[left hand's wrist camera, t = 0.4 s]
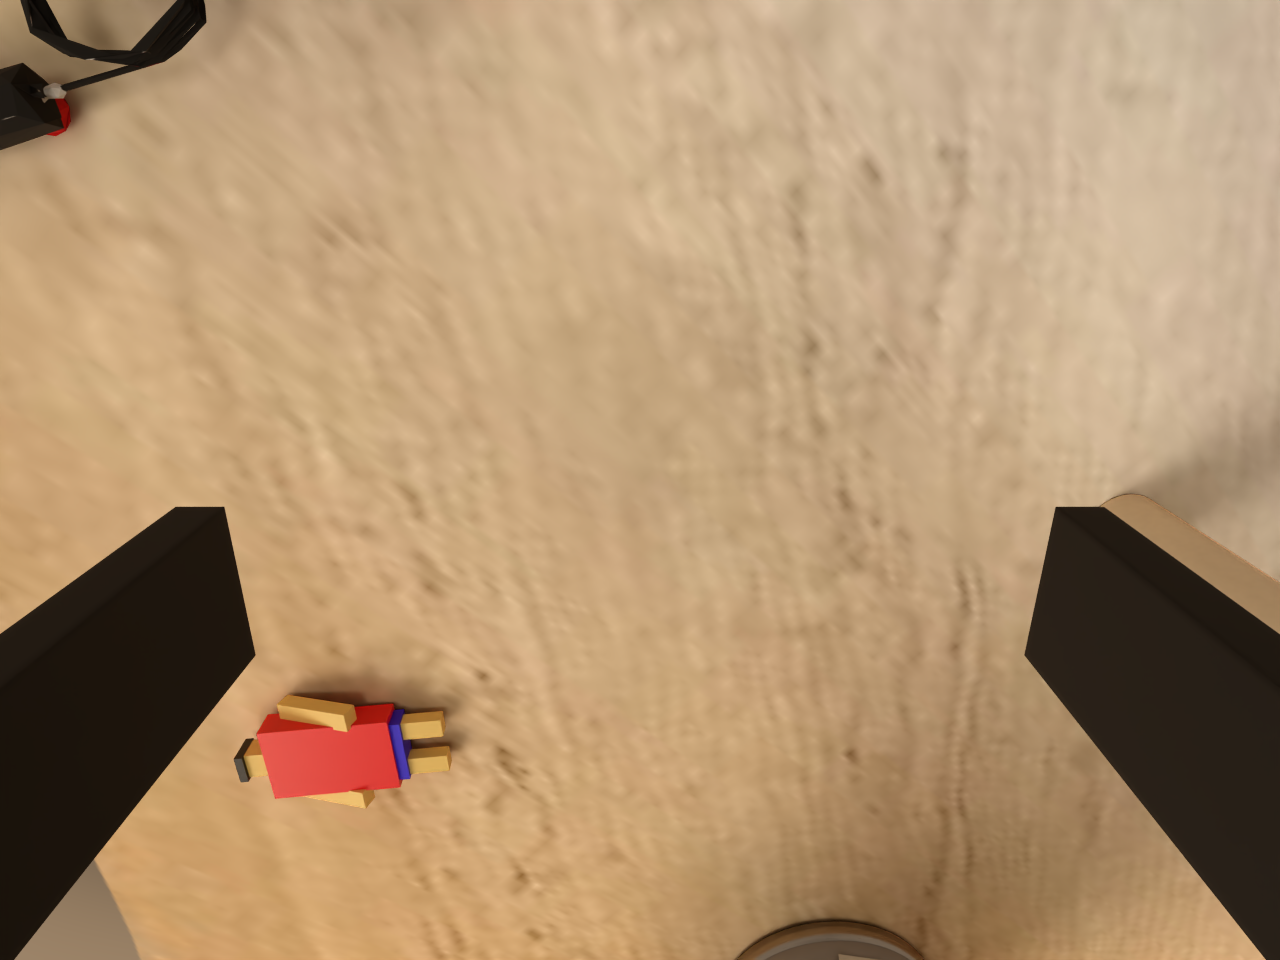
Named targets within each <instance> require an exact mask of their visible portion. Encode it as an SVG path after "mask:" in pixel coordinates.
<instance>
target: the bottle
mask: <svg viewBox="0 0 1280 960" xmlns="http://www.w3.org/2000/svg"><path fill="white" fill-rule="evenodd" d="M1100 507H1105V508H1106V509H1108V510H1109V511H1111V512H1112V513H1113V514H1115V515H1116V516H1118V517H1119V518H1120V519H1122V520H1123V521H1124V522H1126V523H1127V524H1129V525H1130V526H1131V527H1133V528H1134V529H1135V530H1137V531H1138V532H1140V533H1141V534H1142V535H1144V536H1145V537H1146V538H1148V539H1149V540H1151V541H1152V542H1153V543H1155V544H1156V545H1158V546H1159V547H1160V548H1162V549H1163V550H1164V551H1166V552H1167V553H1169V554H1170V555H1171V556H1173V557H1174V558H1175V559H1177V560H1178V561H1180V562H1181V563H1182V564H1184V565H1185V566H1186V567H1188V568H1189V569H1191V570H1192V571H1193V572H1195V573H1196V574H1198V575H1199V576H1200V577H1202V578H1203V579H1204V580H1206V581H1207V582H1209V583H1210V584H1211V585H1213V586H1214V587H1215V588H1217V589H1218V590H1220V591H1221V592H1222V593H1224V594H1225V595H1227V596H1228V597H1229V598H1231V599H1232V600H1233V601H1235V602H1236V603H1238V604H1239V605H1240V606H1242V607H1243V608H1244V609H1246V610H1247V611H1249V612H1250V613H1251V614H1253V615H1254V616H1255V617H1257V618H1258V619H1260V620H1261V621H1262V622H1264V623H1265V624H1267V625H1268V626H1269V627H1271V628H1272V629H1273V630H1275V631H1276V632H1278V633H1279V634H1280V582H1278V581H1277V580H1275V579H1274V578H1272V577H1270V576H1269V575H1267V574H1266V573H1264V572H1263V571H1261V570H1260V569H1258V568H1256V567H1255V566H1253V565H1252V564H1250V563H1249V562H1247V561H1246V560H1244V559H1242V558H1241V557H1239V556H1238V555H1236V554H1235V553H1233V552H1232V551H1230V550H1229V549H1227V548H1225V547H1224V546H1222V545H1221V544H1219V543H1218V542H1216V541H1215V540H1213V539H1211V538H1210V537H1208V536H1207V535H1205V534H1204V533H1202V532H1201V531H1199V530H1197V529H1196V528H1194V527H1193V526H1191V525H1190V524H1188V523H1187V522H1185V521H1183V520H1182V519H1180V518H1179V517H1177V516H1176V515H1174V514H1173V513H1171V512H1170V511H1168V510H1166V509H1165V508H1163V507H1162V506H1160V505H1159V504H1157V503H1156V502H1154V501H1152V500H1151V499H1149V498H1147V497H1145V496H1142V495H1135V494H1128V495H1122V496H1118V497H1115V498H1113V499H1111V500H1109V501H1107V502H1106V503H1104V504H1103V505H1102V506H1100Z"/></svg>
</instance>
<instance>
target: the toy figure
mask: <svg viewBox="0 0 1280 960" xmlns="http://www.w3.org/2000/svg"><path fill="white" fill-rule="evenodd" d="M277 708H278V712H279V714H268V715H267V717H266V719H265V720H264V722H263V724H262V725H261V727H260V729H259V730H258V732H257V738H258V740H254V738H251V739H246V740H245V741H244V743H243V745H242V746H241V748H240V750H239V751H238V753H237V755H236V756H235V758H234V762H235V765H236V768H237V772H238V775H239V778H240V781H241V782H249V780H250V778H251V777H258V776H269V779H270V783H271V786H272V789H273V793H274V796H275V799H277V798H288V797H299V796H304V797H309V798H314V799H319V800H325V801H330V802H335V803H340V804H345V805H350V806H355V807H360V808H365V809H366V808H367V806H368V805H369V804H370V803H371V801H372V800H373V799H374V798H375V795H374V791H373V790H376V789H387V788H398V787H401V784H402V780H403V779H410V777H411V774H417V773H428V772H439V771H449V770H450V766H451V761H452V759H451V754H450V748H449V746H443V747H432V748H421V749H412V746H411V741H410V739H420V738H431V737H442V736H443V735H444V731H445V727H446V726H445V721H444V715H443V711H437V712H425V713H414V714H405V711H404V709H400V710H395V709H394V704H383V705H372V706H360V707H354V705H350V704H344V703H338V702H331V701H325V700H318V699H312V698H305V697H299V696H292V695H287V696H286V697H285V698H284V699H282V700H281V701H280V702H279V703H278V704H277Z"/></svg>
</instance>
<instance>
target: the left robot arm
mask: <svg viewBox="0 0 1280 960" xmlns="http://www.w3.org/2000/svg"><path fill="white" fill-rule="evenodd" d="M254 656H255V650H254V646H253V641H252V636H251V631H250V627H249V622H248V617H247V612H246V608H245V603H244V598H243V593H242V589H241V584H240V579H239V574H238V570H237V565H236V560H235V556H234V551H233V546H232V541H231V537H230V532H229V527H228V522H227V518H226V513H225V508H224V507H175V508H174V509H172V510H171V511H169V512H168V513H167V514H165V515H164V516H162V517H161V518H160V519H158V520H157V521H156V522H154V523H153V524H151V525H150V526H149V527H147V528H146V529H145V530H143V531H142V532H140V533H139V534H138V535H136V536H135V537H134V538H132V539H131V540H129V541H128V542H127V543H125V544H124V545H122V546H121V547H120V548H118V549H117V550H116V551H114V552H113V553H111V554H110V555H109V556H107V557H106V558H105V559H103V560H102V561H100V562H99V563H98V564H96V565H95V566H94V567H92V568H91V569H89V570H88V571H87V572H85V573H84V574H82V575H81V576H80V577H78V578H77V579H76V580H74V581H73V582H71V583H70V584H69V585H67V586H66V587H65V588H63V589H62V590H60V591H59V592H58V593H56V594H55V595H53V596H52V597H51V598H49V599H48V600H47V601H45V602H44V603H42V604H41V605H40V606H38V607H37V608H36V609H34V610H33V611H31V612H30V613H29V614H27V615H26V616H25V617H23V618H22V619H20V620H19V621H18V622H16V623H15V624H13V625H12V626H11V627H9V628H8V629H7V630H5V631H4V632H2V633H1V634H0V960H14V959H15V958H16V957H17V955H18V954H19V953H20V951H21V950H22V949H23V948H24V946H25V945H26V944H27V943H28V941H29V940H30V939H31V938H32V936H33V935H34V934H35V933H36V931H37V930H38V929H39V928H40V926H41V925H42V924H43V923H44V921H45V920H46V919H47V917H48V916H49V915H50V914H51V912H52V911H53V910H54V909H55V907H56V906H57V905H58V904H59V902H60V901H61V900H62V899H63V897H64V896H65V895H66V893H67V892H68V891H69V890H70V888H71V887H72V886H73V885H74V883H75V882H76V881H77V880H78V878H79V877H80V876H81V875H82V873H83V872H84V871H85V869H86V868H87V867H88V866H89V864H90V863H91V862H92V861H93V859H94V858H95V857H96V856H97V854H98V853H99V852H100V851H101V849H102V848H103V847H104V846H105V844H106V843H107V842H108V841H109V839H110V838H111V837H112V836H113V834H114V833H115V832H116V830H117V829H118V828H119V827H120V825H121V824H122V823H123V822H124V820H125V819H126V818H127V817H128V815H129V814H130V813H131V812H132V810H133V809H134V808H135V807H136V805H137V804H138V803H139V801H140V800H141V799H142V798H143V796H144V795H145V794H146V793H147V791H148V790H149V789H150V788H151V786H152V785H153V784H154V783H155V781H156V780H157V779H158V778H159V776H160V775H161V774H162V772H163V771H164V770H165V769H166V767H167V766H168V765H169V764H170V762H171V761H172V760H173V759H174V757H175V756H176V755H177V754H178V752H179V751H180V750H181V749H182V747H183V746H184V745H185V743H186V742H187V741H188V740H189V738H190V737H191V736H192V735H193V733H194V732H195V731H196V730H197V728H198V727H199V726H200V725H201V723H202V722H203V721H204V720H205V718H206V717H207V716H208V714H209V713H210V712H211V711H212V709H213V708H214V707H215V706H216V704H217V703H218V702H219V701H220V699H221V698H222V697H223V696H224V694H225V693H226V692H227V691H228V689H229V688H230V687H231V685H232V684H233V683H234V682H235V680H236V679H237V678H238V677H239V675H240V674H241V673H242V672H243V670H244V669H245V668H246V667H247V665H248V664H249V663H250V662H251V660H252V659H253V658H254ZM1025 656H1026V658H1027V659H1028V660H1029V662H1030V663H1031V664H1032V665H1033V667H1034V668H1035V669H1036V670H1037V672H1038V673H1039V674H1040V675H1041V677H1042V678H1043V679H1044V680H1045V682H1046V683H1047V684H1048V685H1049V687H1050V688H1051V689H1052V691H1053V692H1054V693H1055V694H1056V696H1057V697H1058V698H1059V699H1060V701H1061V702H1062V703H1063V704H1064V706H1065V707H1066V708H1067V709H1068V711H1069V712H1070V713H1071V714H1072V716H1073V717H1074V718H1075V720H1076V721H1077V722H1078V723H1079V725H1080V726H1081V727H1082V728H1083V730H1084V731H1085V732H1086V733H1087V735H1088V736H1089V737H1090V738H1091V740H1092V741H1093V742H1094V743H1095V745H1096V746H1097V747H1098V749H1099V750H1100V751H1101V752H1102V754H1103V755H1104V756H1105V757H1106V759H1107V760H1108V761H1109V762H1110V764H1111V765H1112V766H1113V767H1114V769H1115V770H1116V771H1117V772H1118V774H1119V775H1120V776H1121V778H1122V779H1123V780H1124V781H1125V783H1126V784H1127V785H1128V786H1129V788H1130V789H1131V790H1132V791H1133V793H1134V794H1135V795H1136V796H1137V798H1138V799H1139V800H1140V801H1141V803H1142V804H1143V805H1144V807H1145V808H1146V809H1147V810H1148V812H1149V813H1150V814H1151V815H1152V817H1153V818H1154V819H1155V820H1156V822H1157V823H1158V824H1159V825H1160V827H1161V828H1162V829H1163V830H1164V832H1165V833H1166V834H1167V836H1168V837H1169V838H1170V839H1171V841H1172V842H1173V843H1174V844H1175V846H1176V847H1177V848H1178V849H1179V851H1180V852H1181V853H1182V854H1183V856H1184V857H1185V858H1186V859H1187V861H1188V862H1189V863H1190V865H1191V866H1192V867H1193V868H1194V870H1195V871H1196V872H1197V873H1198V875H1199V876H1200V877H1201V878H1202V880H1203V881H1204V882H1205V883H1206V885H1207V886H1208V887H1209V888H1210V890H1211V891H1212V892H1213V894H1214V895H1215V896H1216V897H1217V899H1218V900H1219V901H1220V902H1221V904H1222V905H1223V906H1224V907H1225V909H1226V910H1227V911H1228V912H1229V914H1230V915H1231V916H1232V917H1233V919H1234V920H1235V921H1236V923H1237V924H1238V925H1239V926H1240V928H1241V929H1242V930H1243V931H1244V933H1245V934H1246V935H1247V936H1248V938H1249V939H1250V940H1251V941H1252V943H1253V944H1254V945H1255V946H1256V948H1257V949H1258V950H1259V952H1260V953H1261V954H1262V955H1263V957H1264V958H1265V959H1266V960H1280V634H1279V633H1278V632H1276V631H1275V630H1273V629H1272V628H1271V627H1269V626H1268V625H1267V624H1265V623H1264V622H1262V621H1261V620H1260V619H1258V618H1257V617H1255V616H1254V615H1253V614H1251V613H1250V612H1249V611H1247V610H1246V609H1244V608H1243V607H1242V606H1240V605H1239V604H1238V603H1236V602H1235V601H1233V600H1232V599H1231V598H1229V597H1228V596H1227V595H1225V594H1224V593H1222V592H1221V591H1220V590H1218V589H1217V588H1215V587H1214V586H1213V585H1211V584H1210V583H1209V582H1207V581H1206V580H1204V579H1203V578H1202V577H1200V576H1199V575H1198V574H1196V573H1195V572H1193V571H1192V570H1191V569H1189V568H1188V567H1186V566H1185V565H1184V564H1182V563H1181V562H1180V561H1178V560H1177V559H1175V558H1174V557H1173V556H1171V555H1170V554H1169V553H1167V552H1166V551H1164V550H1163V549H1162V548H1160V547H1159V546H1158V545H1156V544H1155V543H1153V542H1152V541H1151V540H1149V539H1148V538H1146V537H1145V536H1144V535H1142V534H1141V533H1140V532H1138V531H1137V530H1135V529H1134V528H1133V527H1131V526H1130V525H1129V524H1127V523H1126V522H1124V521H1123V520H1122V519H1120V518H1119V517H1118V516H1116V515H1115V514H1113V513H1112V512H1111V511H1109V510H1108V509H1106V508H1105V507H1056V508H1055V513H1054V518H1053V522H1052V527H1051V532H1050V537H1049V541H1048V546H1047V551H1046V556H1045V560H1044V565H1043V570H1042V574H1041V579H1040V584H1039V589H1038V593H1037V598H1036V603H1035V608H1034V612H1033V617H1032V622H1031V627H1030V631H1029V636H1028V641H1027V646H1026V650H1025ZM737 960H923V958H922V957H921V956H920V954H919V953H918V952H917V951H916V950H915V949H914V948H913V947H912V946H911V945H910V944H908V943H907V942H905V941H904V940H903V939H901V938H899V937H898V936H896V935H894V934H892V933H890V932H887V931H885V930H882V929H880V928H877V927H873V926H869V925H865V924H860V923H853V922H839V921H831V922H817V923H810V924H804V925H800V926H796V927H792V928H789V929H786V930H783V931H780V932H778V933H775V934H773V935H771V936H769V937H767V938H765V939H763V940H761V941H760V942H758V943H756V944H755V945H753V946H752V947H751V948H749V949H748V950H747V951H746V952H744V953H743V954H742V955H741V956H740V957H739V958H738V959H737Z"/></svg>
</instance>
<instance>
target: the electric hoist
mask: <svg viewBox="0 0 1280 960" xmlns="http://www.w3.org/2000/svg"><path fill="white" fill-rule="evenodd" d="M21 4H22V7H23V10H24V14H25V17H26V20H27V24H28V27H29V31H30V33H32V34H33V35H35V36H36V37H38V38H39V39H41V40H43V41H44V42H46V43H47V44H49V45H51V46H52V47H54V48H55V49H57V50H58V51H60V52H62V53H63V54H66V55H68V56H70V57H77V58H81V59H84V60H98V61H104V62H111V63H117V64H124V65H128V66H124V67H121V68H118V69H114V70H111V71H108V72H104V73H101V74H97V75H94V76H91V77H87V78H84V79H81V80H77V81H74V82H71V83H67V84H64V85H61V84H58V83H55V82H54V83H52V84H50V85H49V84H48V83H47V82H46V81H45V80H44V79H43V78H41V77H40V76H39V75H38V74H36V73H35V72H34V71H33V70H31V69H30V68H29V67H27V66H26V65H25V64H24V63H20V64H17V65H13V66H10V67H7V68H3V69H0V150H2V149H5V148H8V147H11V146H14V145H17V144H20V143H23V142H26V141H28V140H31V139H34V138H37V137H40V136H43V135H52V136H57V135H59V134H61V133H63V132H64V131H66V129H67V128H68V126H69V124H70V122H71V119H70V109H69V105H68V104H67V102H66V100H65V99H64V97H65V95H66V93H67V92H66V91H68V90H72V89H75V88H78V87H82V86H85V85H88V84H92V83H95V82H99V81H102V80H105V79H109V78H112V77H115V76H119V75H122V74H125V73H129V72H132V71H135V70H139V69H142V68H145V67H149V66H152V65H155V64H159V63H162V62H165V61H166V60H168V59H169V58H170V57H172V56H173V55H174V54H176V53H177V52H179V51H180V50H181V49H182V48H183V47H184V46H185V45H186V44H187V43H188V42H189V41H190V40H191V38H192V37H193V36H194V35H195V34H196V33H197V32H198V31H199V30H200V29H201V28H202V27H203V25H204V24H205V23H206V11H205V3H204V0H177V1H176V2H175V3H174V4H173V5H172V7H171V8H170V9H169V10H168V11H167V12H166V13H165V14H164V15H163V16H162V17H161V18H160V20H159V21H158V22H157V23H156V24H155V25H154V26H153V27H152V28H151V29H150V30H149V32H148V33H147V34H146V35H145V36H144V37H143V38H142V39H141V40H140V41H139V42H138V43H137V45H136V46H135V47H134V48H133V49H132V50H131V51H128V50H97V49H94V48H91V47H88V46H85V45H82V44H80V43H77V42H74V41H71V40H68V39H67V38H66V36H65V34H64V32H63V31H62V29H61V27H60V25H59V23H58V21H57V19H56V18H55V16H54V14H53V12H52V10H51V8H50V6H49V5H48V3H47V1H46V0H21ZM194 24H195V25H194ZM193 25H194V26H193ZM192 26H193V27H192ZM191 27H192V28H191ZM190 28H191V29H190ZM189 29H190V30H189ZM188 30H189V31H188ZM187 31H188V32H187ZM186 32H187V33H186ZM185 33H186V34H185ZM184 34H185V35H184ZM183 35H184V36H183ZM182 36H183V37H182ZM181 37H182V38H181Z"/></svg>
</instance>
